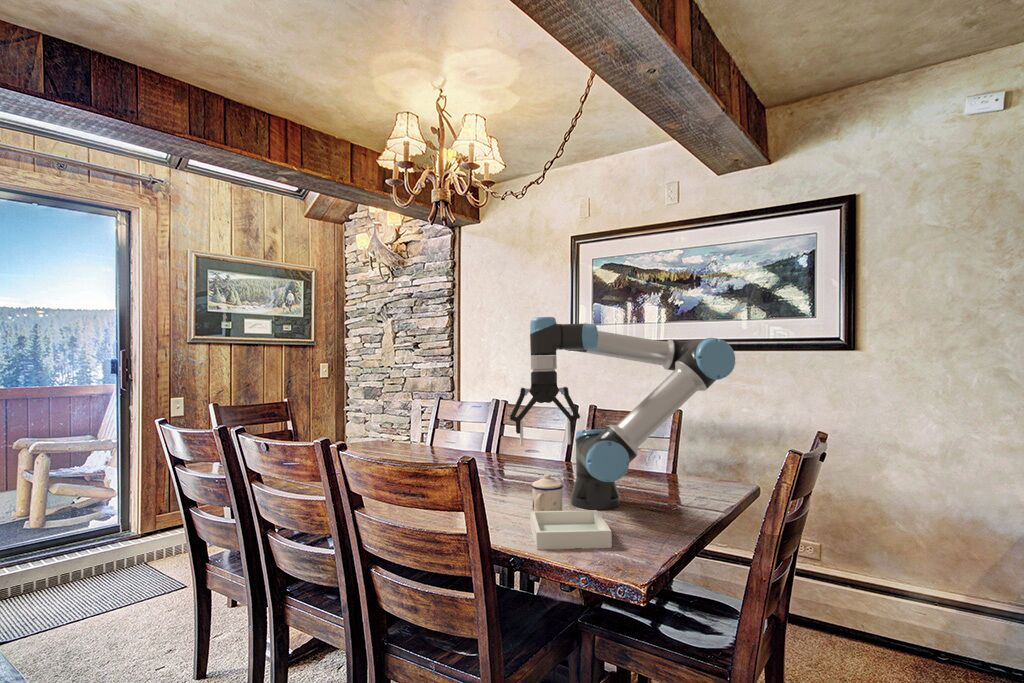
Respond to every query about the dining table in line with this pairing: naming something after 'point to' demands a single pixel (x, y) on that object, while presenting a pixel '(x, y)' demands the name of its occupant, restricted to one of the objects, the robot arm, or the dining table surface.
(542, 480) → the teacup with lid
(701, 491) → the dining table surface
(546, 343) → the robot arm
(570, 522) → the tray
